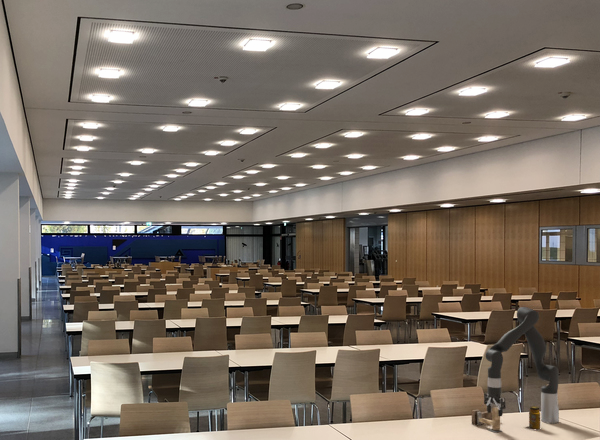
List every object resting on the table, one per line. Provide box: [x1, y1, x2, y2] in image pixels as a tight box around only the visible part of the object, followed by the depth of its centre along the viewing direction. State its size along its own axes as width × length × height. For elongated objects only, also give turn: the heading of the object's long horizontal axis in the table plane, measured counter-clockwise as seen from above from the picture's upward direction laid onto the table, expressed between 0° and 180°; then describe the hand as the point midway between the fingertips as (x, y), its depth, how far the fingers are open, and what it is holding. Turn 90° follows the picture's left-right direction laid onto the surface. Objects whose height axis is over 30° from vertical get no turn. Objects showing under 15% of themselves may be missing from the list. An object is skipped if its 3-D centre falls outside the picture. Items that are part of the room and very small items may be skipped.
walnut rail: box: [471, 409, 492, 426], centre depth 373 cm, size 18×2×8 cm, turn 118°
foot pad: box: [487, 428, 503, 434], centre depth 356 cm, size 6×6×1 cm
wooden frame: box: [477, 406, 501, 430], centre depth 362 cm, size 15×3×12 cm, turn 33°
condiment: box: [523, 405, 544, 431], centre depth 363 cm, size 7×8×12 cm
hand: (494, 414), depth 357 cm, fingers open, 8 cm apart
